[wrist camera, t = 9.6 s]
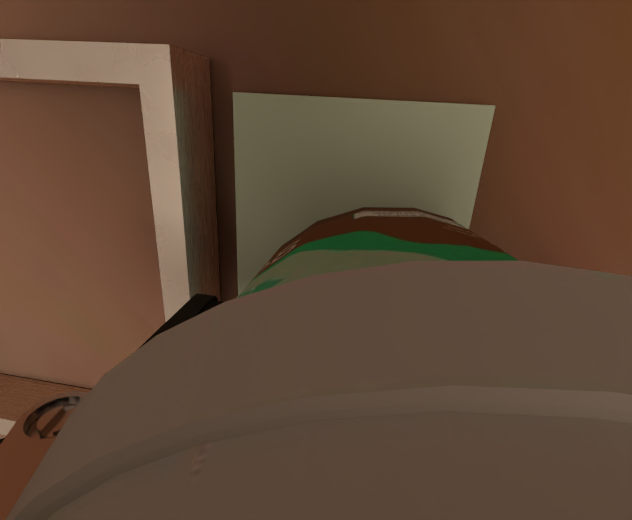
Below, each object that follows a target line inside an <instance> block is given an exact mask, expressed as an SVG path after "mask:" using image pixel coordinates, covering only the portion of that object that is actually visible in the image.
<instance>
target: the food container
mask: <svg viewBox="0 0 632 520" xmlns="http://www.w3.org/2000/svg"><path fill="white" fill-rule="evenodd" d="M6 520H632V276H629V275H622V274H615V273H608V272H600V271H593V270H586V269H579V268H572V267H565V266H557V265H550V264H543V263H536V262H529V261H519V260H517V259H515V258H514V257H512V256H511V255H509V254H507V253H506V252H504V251H503V250H501V249H499V248H498V247H496V246H495V245H493V244H491V243H490V242H488V241H487V240H485V239H483V238H482V237H480V236H478V235H477V234H475V233H474V232H472V231H470V230H469V229H467V228H466V227H464V226H462V225H461V224H459V223H458V222H456V221H454V220H453V219H451V218H448V217H445V216H441V215H438V214H434V213H431V212H427V211H424V210H421V209H417V208H397V207H362V208H359V209H356V210H352V211H349V212H346V213H342V214H339V215H336V216H332V217H329V218H325V219H322V220H319V221H316V222H315V223H314V224H312V225H311V226H309V227H308V228H306V229H305V230H304V231H302V232H301V233H299V234H298V235H296V236H295V237H293V238H292V239H291V240H289V241H288V242H286V243H285V244H283V245H282V246H281V247H280V248H279V249H278V250H277V252H276V253H275V254H274V255H273V256H272V257H271V259H270V260H269V261H268V262H267V263H266V264H265V265H264V267H263V268H262V269H261V270H260V271H259V272H258V274H257V275H256V276H255V277H254V278H253V279H252V280H251V282H250V283H249V284H248V285H247V286H246V287H245V289H244V290H243V291H242V292H241V293H240V294H239V296H238V297H237V298H235V299H232V300H228V301H226V302H224V303H221V304H219V305H217V306H215V307H213V308H211V309H209V310H207V311H205V312H203V313H201V314H199V315H197V316H195V317H193V318H191V319H189V320H187V321H185V322H183V323H181V324H179V325H177V326H175V327H173V328H171V329H168V330H166V331H164V332H162V333H160V334H158V335H157V336H155V337H154V338H153V339H151V340H150V341H149V342H147V343H146V344H145V345H143V346H142V347H141V348H139V349H138V350H137V351H135V352H134V353H133V354H131V355H130V356H129V357H127V358H126V359H125V360H123V361H122V362H121V363H119V364H118V365H117V366H115V367H114V368H113V369H111V370H110V371H109V372H107V373H106V374H105V375H104V376H103V377H102V378H101V379H100V381H99V382H98V383H97V384H96V385H95V386H94V388H93V389H92V390H91V391H90V392H89V393H88V395H87V396H86V397H85V398H84V399H83V400H82V402H81V403H80V404H79V405H78V406H77V407H76V409H75V410H74V411H73V412H72V413H71V414H70V416H69V417H68V419H67V420H66V422H65V424H64V425H63V427H62V429H61V430H60V432H59V433H58V435H57V437H56V438H55V440H54V442H53V443H52V445H51V446H50V448H49V450H48V451H47V453H46V455H45V456H44V458H43V459H42V461H41V463H40V464H39V466H38V468H37V469H36V471H35V473H34V474H33V476H32V477H31V479H30V481H29V482H28V484H27V486H26V487H25V489H24V490H23V492H22V494H21V495H20V497H19V499H18V500H17V502H16V503H15V505H14V507H13V508H12V510H11V512H10V513H9V515H8V517H7V518H6Z"/></svg>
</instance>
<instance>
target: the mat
mask: <svg viewBox="0 0 632 520" xmlns="http://www.w3.org/2000/svg"><path fill="white" fill-rule="evenodd" d="M495 106H496V105H476V104H457V103H437V102H417V101H398V100H378V99H358V98H339V97H319V96H300V95H280V94H260V93H241V92H233V121H234V158H235V195H236V232H237V269H238V296H239V294H240V293H241V292H242V291H243V290H244V289H245V287H246V286H247V285H248V284H249V283H250V282H251V280H252V279H253V278H254V277H255V276H256V275H257V274H258V272H259V271H260V270H261V269H262V268H263V267H264V265H265V264H266V263H267V262H268V261H269V260H270V259H271V257H272V256H273V255H274V254H275V253H276V252H277V250H278V249H279V248H280V247H281V246H282V245H283V244H285V243H286V242H288V241H289V240H291V239H292V238H293V237H295V236H296V235H298V234H299V233H301V232H302V231H304V230H305V229H306V228H308V227H309V226H311V225H312V224H314V223H315V222H316V221H319V220H322V219H325V218H329V217H332V216H336V215H339V214H342V213H346V212H349V211H352V210H356V209H359V208H362V207H397V208H417V209H421V210H424V211H427V212H431V213H434V214H438V215H441V216H445V217H448V218H451V219H453V220H454V221H456V222H458V223H459V224H461V225H462V226H464V227H466V228H467V229H469V227H470V222H471V217H472V213H473V208H474V203H475V199H476V194H477V189H478V185H479V180H480V176H481V171H482V166H483V162H484V157H485V152H486V148H487V143H488V138H489V134H490V129H491V124H492V120H493V115H494V110H495Z"/></svg>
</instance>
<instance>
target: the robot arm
mask: <svg viewBox="0 0 632 520" xmlns="http://www.w3.org/2000/svg"><path fill="white" fill-rule="evenodd" d="M221 303H223V302H222V301H218V298H217V297H216V296H214V295H206V294H195V295H194V296H193V297H192V298H191V299H190V300H189V301H188V302H186V303H185V304H184V305H183V306H182V307H181V308H180V309H179V310H178V311H177V312H176V313H175V314H174V315H173V316H172V317H171V318H170V319H169V320H168V321H167V322H166V323H165V324H164V325H163V326H161V327H160V328H159V329H158V330H157V331H156V332H155V333H154V334H153V335H152V336H151V337H150V338H149V339H148V340H147V341H146V342H145V343H144V344H143V345H145V344H146V343H147V342H149V341H150V340H151V339H153V338H154V337H155V336H157V335H158V334H160V333H162V332H164V331H166V330H168V329H171V328H173V327H175V326H177V325H179V324H181V323H183V322H185V321H187V320H189V319H191V318H193V317H195V316H197V315H199V314H201V313H203V312H205V311H207V310H209V309H211V308H213V307H215V306H217V305H219V304H221ZM143 345H142V346H143ZM142 346H141V347H142ZM141 347H140V348H141ZM136 351H137V350H136ZM87 395H88V393H86V392H83V391H71V392H65V393H60V394H57V395H54V396H51V397H48V398H46V399H44V400H42V401H40V402H38V403H36V404H35V405H33V406H32V407H31V408H29V409H28V410H26V411H25V412H24V413H23V414H22V415H21V417H20V418H19V419H18V420H17V421H16V423H15V424H14V426H13V427H12V428H11V430H10V431H9V433H8V434H7V436H6V437H5V438H3V439H0V520H6V518H7V517H8V515H9V513H10V512H11V510H12V508H13V507H14V505H15V503H16V502H17V500H18V499H19V497H20V495H21V494H22V492H23V490H24V489H25V487H26V486H27V484H28V482H29V481H30V479H31V477H32V476H33V474H34V473H35V471H36V469H37V468H38V466H39V464H40V463H41V461H42V459H43V458H44V456H45V455H46V453H47V451H48V450H49V448H50V446H51V445H52V443H53V442H54V440H55V438H56V437H57V435H58V433H59V432H60V430H61V429H62V427H63V425H64V424H65V422H66V420H67V419H68V417H69V416H70V414H71V413H72V412H73V411H74V410H75V409H76V407H77V406H78V405H79V404H80V403H81V402H82V400H83V399H84V398H85V397H86V396H87Z"/></svg>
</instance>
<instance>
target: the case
mask: <svg viewBox="0 0 632 520" xmlns="http://www.w3.org/2000/svg"><path fill="white" fill-rule="evenodd" d="M0 81H10V82H30V83H49V84H69V85H88V86H108V87H127V88H140V97H141V106H142V115H143V124H144V133H145V142H146V151H147V160H148V169H149V178H150V187H151V196H152V205H153V214H154V223H155V232H156V241H157V250H158V259H159V268H160V277H161V285H162V294H163V303H164V312H165V321H166V322H167V321H168V320H169V319H170V318H171V317H172V316H173V315H174V314H175V313H176V312H177V311H178V310H179V309H180V308H181V307H182V306H183V305H184V304H185V303H186V302H188V301H189V300H190V299H191V298H192V297H193V296H194V295H195V294H206V295H214V296H216V297H217V298H218V301H221V293H220V272H219V250H218V229H217V207H216V186H215V165H214V143H213V122H212V100H211V79H210V58H207V57H204V56H201V55H198V54H195V53H192V52H190V51H187V50H184V49H181V48H178V47H175V46H172V45H169V44H141V43H111V42H82V41H52V40H22V39H0ZM71 391H83V392H86V393H89V392H90V391H91V389H85V388H79V387H73V386H68V385H62V384H56V383H50V382H45V381H39V380H33V379H27V378H21V377H16V376H10V375H4V374H0V434H2V435H7V434H8V433H9V431H10V430H11V428H12V427H13V426H14V424H15V423H16V421H17V420H18V419H19V418H20V417H21V415H22V414H23V413H24V412H25V411H26V410H28V409H29V408H31V407H32V406H33V405H35V404H36V403H38V402H40V401H42V400H44V399H46V398H48V397H51V396H54V395H57V394H60V393H65V392H71Z"/></svg>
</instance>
